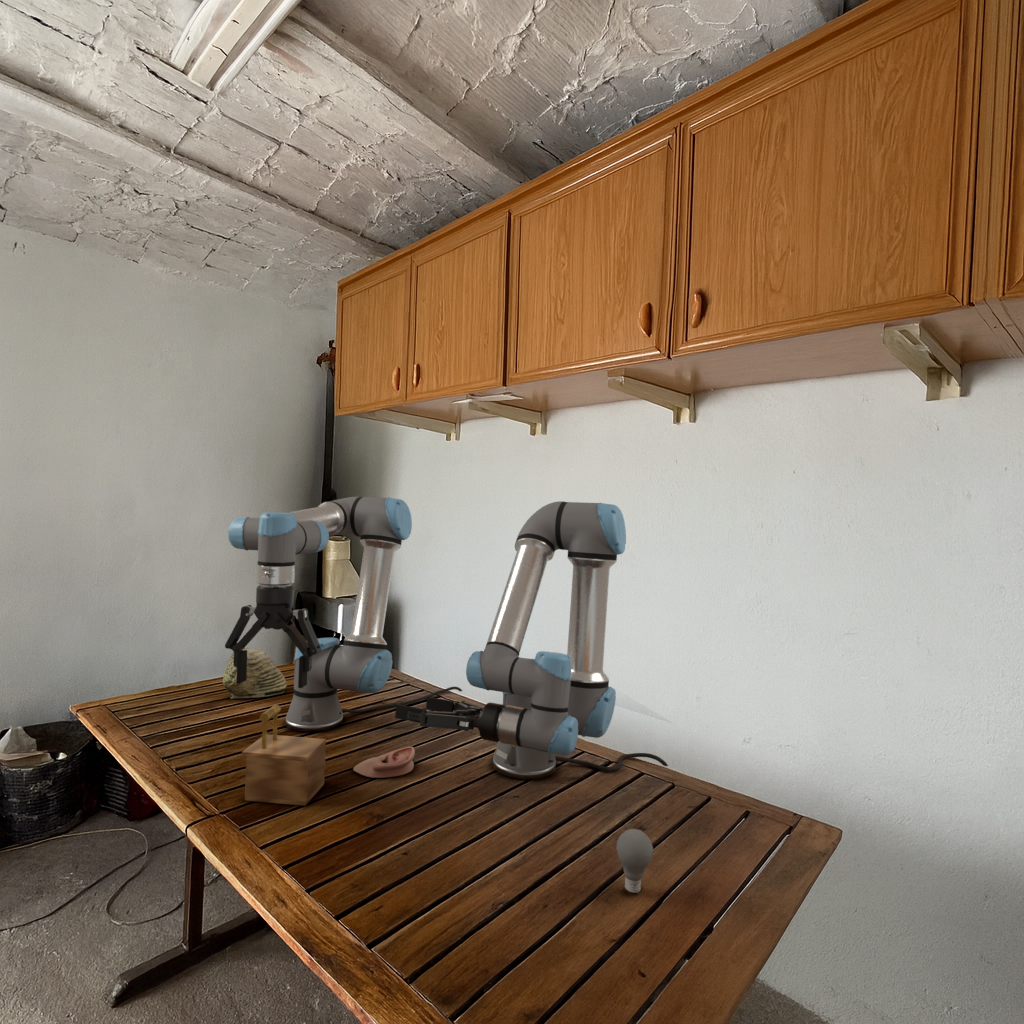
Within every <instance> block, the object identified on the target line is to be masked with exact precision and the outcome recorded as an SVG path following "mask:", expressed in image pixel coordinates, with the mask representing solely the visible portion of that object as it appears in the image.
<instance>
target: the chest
mask: <svg viewBox="0 0 1024 1024" xmlns="http://www.w3.org/2000/svg"><path fill="white" fill-rule="evenodd" d="M326 749H327V742H326V743H325V744H324V745H323V746H322V747H321V748H320V749H319V750H318V751H317V752H316V753H315V754H314V755H313V756H312V757H311V758H310V759H309V760H308V761H298V760H286V759H274V758H262V757H250V756H245V778H244V779H245V783H244V801H249V802H259V803H268V804H269V803H271V804H282V805H292V806H304V807H306V806H307V804H309V802H310V801H311V800H312V799H313V797H314V796H315V795H316V794H317V793H318V792H319V791H320V790H321V788H322V787H323V786H324V785H325V779H326V778H325V777H326V752H327V751H326Z"/></svg>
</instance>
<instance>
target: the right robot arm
mask: <svg viewBox="0 0 1024 1024" xmlns="http://www.w3.org/2000/svg"><path fill="white" fill-rule="evenodd" d="M626 544H627V531H626V523H625V519H624V515H623V512H622V510H621V509H620V508H619V506H617V505H616V504H613V503H612V504H611V503H605V502H604V503H603V502H578V501H563V500H561V501H560V500H559V501H553V502H550V503H547V504H545V505H542V507H540V508H539V509H537V510H536V511H535V512H533V514H532V515H531V516H530V517H529V518H528V519H527V520H526V521H525V522H524V524H523V525H522V527H521V529H520V531H519V532H518V534H517V537H516V540H515V543H514V550H515V552H516V553H515V556H514V560H513V562H512V565H511V568H510V572H509V575H508V578H507V580H506V584H505V587H504V589H503V593H502V596H501V599H500V601H499V604H498V607H497V611H496V614H495V617H494V620H493V622H492V626H491V628H490V632H489V636H488V638H487V641H486V644H485V647H484V650H480V651H479V650H475V651H473V652H472V654H471V655H470V656H469V657H468V660H467V663H466V668H465V670H466V671H465V674H466V675H465V676H466V679H467V682H468V683H469V685H470V686H472V687H475V688H477V689H478V688H479V689H483V690H486V691H492V692H493V691H494V692H501V693H502V703H496V702H490V701H489V702H487V703H486V704H485V705H484V706H481V705H478V704H475V703H471V702H469V701H465V700H460V701H458V700H457V701H454V700H449V699H444V698H438V697H433V696H432V697H427V699H426V704H425V706H423V707H421V708H420V707H415V706H408V705H399V704H398V705H396V706H395V714H394V719H399V720H403V721H408V722H413V723H418V724H419V727H421V728H424V727H425V728H435V729H448V730H458V731H464V732H469V731H470V730H471V731H473V730H474V729H477V730H478V732H479V736H480V738H481V739H482V740H484V741H487V742H493V743H497V745H496V747H495V750H494V752H493V756H492V767H493V769H494V770H495V771H496V772H498V773H499V774H501V775H503V776H505V777H508V778H511V779H517V780H538V779H539V780H540V779H543V778H546V777H548V776H550V775H552V774H554V772H555V771H556V769H557V767H556V766H557V761H558V762H564V763H570V764H575V765H576V764H577V765H581V766H586V767H590V768H592V769H596V770H599V771H603V772H616V771H618V770H620V769H621V768H622V766H623V765H622V764H623V761H624V760H625V759H632V758H647V759H652V760H654V761H657V762H658V763H660V764H661V765H662V766H664V767H668V766H669V765H668V763H667V762H666V761H665V760H664V759H662V758H661V757H660V756H658V755H655V754H653V753H648V752H636V753H635V752H634V753H625V754H622V755H620V756H619V757H618V759H617V765H614V766H604V765H601V764H600V765H599V764H597V763H593V762H590V761H586V760H581V759H575V758H571V757H570V758H569V757H564V756H570V755H571V754H572V753H573V752H574V750H575V749H576V745H577V743H578V736H581V737H583V738H585V737H586V738H587V737H588V738H595V739H599V738H601V737H603V736H604V735H605V734H606V733H607V732H608V729H609V727H610V725H611V721H612V719H613V714H614V712H615V706H616V700H617V696H616V695H617V694H616V693H617V692H616V689H615V688H614V687H612V686H609V685H610V678H609V676H608V675H607V673H605V672H604V660H605V646H606V629H607V614H608V599H609V587H610V586H609V583H610V570H611V568H612V567H613V566H614V565H615V564H616V563H617V562H618V561H617V560H618V556H619V555H622V554H624V552H625V550H626ZM558 550H561V551H567V559H568V561H569V562H570V563H571V564H572V577H571V578H572V579H571V591H570V607H569V621H568V622H569V624H568V639H567V650H566V652H567V653H562V652H555V651H545V650H541V651H537V653H536V654H535V657H534V658H527V657H520V653H521V649H522V646H523V643H524V639H525V636H526V633H527V630H528V626H529V622H530V620H531V617H532V613H533V610H534V607H535V603H536V600H537V596H538V594H539V591H540V587H541V584H542V580H543V578H544V573H545V570H546V567H547V564H548V562H549V561H551V560H552V559H553V558H554V556H555V552H556V551H558ZM556 755H557V756H556ZM558 755H563V756H558Z"/></svg>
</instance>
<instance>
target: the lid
mask: <svg viewBox="0 0 1024 1024" xmlns="http://www.w3.org/2000/svg"><path fill="white" fill-rule="evenodd" d="M281 710H282V708H281V706H280V705H279V704H274V705H272V706H271V707H270V708H268V709H267V710H265V711H263V712H262V713H261V714H260V715H259V720H260V721H261V723H262V729H261V730H262V733H261V734H262V735H261V737H260V738H258V739H257V740H256V741H254V742H253V743H252V744H250V745H249V746H248V747H246V748H245V749H244V750H243V751H241V757H246V756H250V757H262V758H274V759H286V760H298V761H308V760H309V759H310V758H311V757H312V756H313V755H314V754H315V753H316V752H317V751H318V750H319V749H320V748H321V747H322V746H323V745H324V744H325V743H326V744H327V739H326V738H319V737H318V738H317V737H305V736H294V735H279V734H278V717H279V713H280V712H281ZM271 719H272V722H273V723H272V734H270V733H269V734H268V721H270V720H271Z"/></svg>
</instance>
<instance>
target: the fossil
mask: <svg viewBox="0 0 1024 1024" xmlns="http://www.w3.org/2000/svg"><path fill="white" fill-rule="evenodd" d="M243 650H247V676H246V681H244V682H242V683H240V684H238V683H237V667H234V651H232V653H231V656H230V657H229V659H228V660H227V663H226V666H225V668H224V671H223V675H222V676H223V677H222V685H223V687H224V688H225V690H226V691H228V693H229V698H230V699H250V698H264V697H271V696H275V695H281V694H284V693H285V691H286V689H287V687H288V686H287V680H286V678H285V676H284V674H283V673H282V672H281V669H279V668H278V667H277V665H276V663H275V662H274V660H273V659H272V658H271V657H270V656H269V655H268V654H267V653H266V652H265V650H264V649H263V648H260V647H258V648H251V647H247V646H245V649H243Z"/></svg>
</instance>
